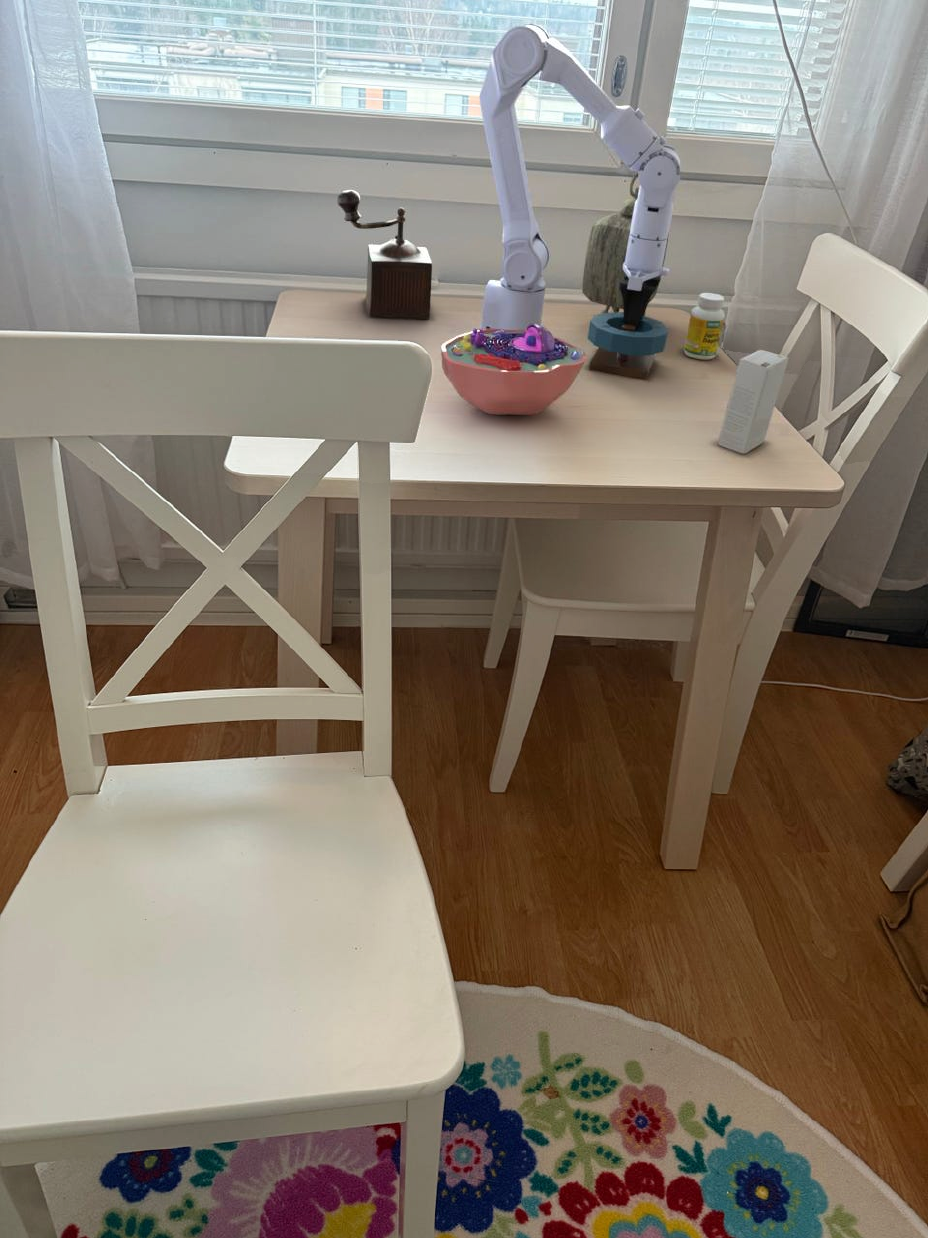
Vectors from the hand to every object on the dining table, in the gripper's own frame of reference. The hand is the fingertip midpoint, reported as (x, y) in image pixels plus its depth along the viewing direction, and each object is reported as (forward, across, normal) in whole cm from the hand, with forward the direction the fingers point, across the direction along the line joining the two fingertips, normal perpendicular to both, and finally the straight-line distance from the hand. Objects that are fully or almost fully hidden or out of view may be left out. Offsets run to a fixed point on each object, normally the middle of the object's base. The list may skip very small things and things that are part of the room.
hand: (632, 325), depth 154 cm
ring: (+1, -5, 0) cm, 5 cm away
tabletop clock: (+5, +17, +5) cm, 19 cm away
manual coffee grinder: (+5, +2, +43) cm, 43 cm away
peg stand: (+5, -5, 0) cm, 7 cm away
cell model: (+5, -31, +12) cm, 33 cm away
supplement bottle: (+5, +7, -11) cm, 14 cm away
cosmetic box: (+5, -28, -20) cm, 35 cm away
